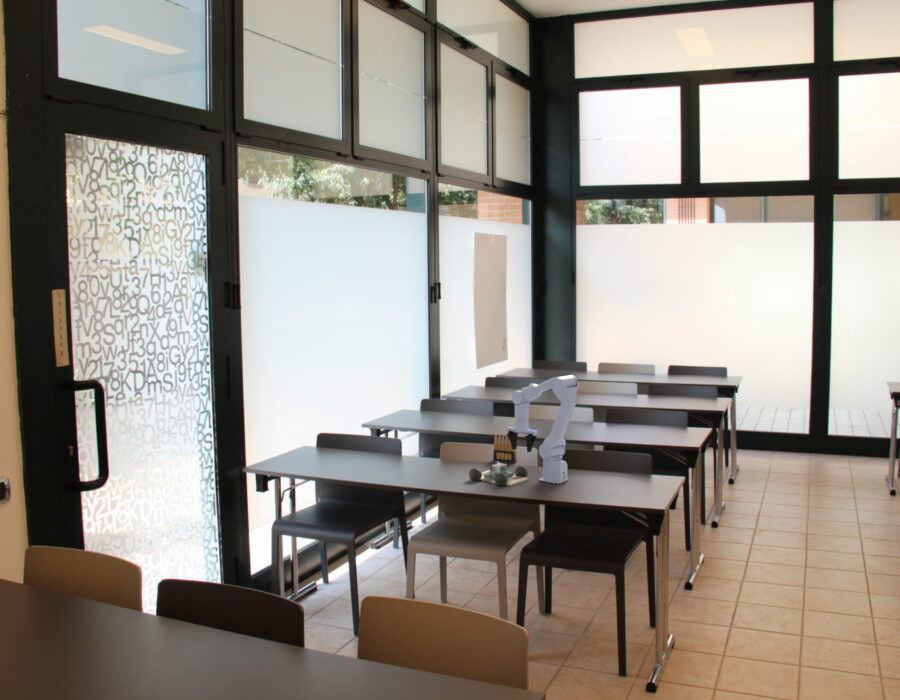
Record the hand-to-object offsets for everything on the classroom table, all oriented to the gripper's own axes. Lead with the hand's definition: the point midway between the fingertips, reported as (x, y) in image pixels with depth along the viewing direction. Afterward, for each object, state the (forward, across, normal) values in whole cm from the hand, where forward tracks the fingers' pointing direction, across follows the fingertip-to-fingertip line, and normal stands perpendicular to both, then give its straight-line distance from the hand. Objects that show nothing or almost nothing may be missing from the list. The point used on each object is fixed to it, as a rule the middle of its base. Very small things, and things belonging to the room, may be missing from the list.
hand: (521, 450), depth 357 cm
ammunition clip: (+10, +17, -11) cm, 22 cm away
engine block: (+8, +1, +14) cm, 17 cm away
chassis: (+9, +1, +15) cm, 18 cm away
